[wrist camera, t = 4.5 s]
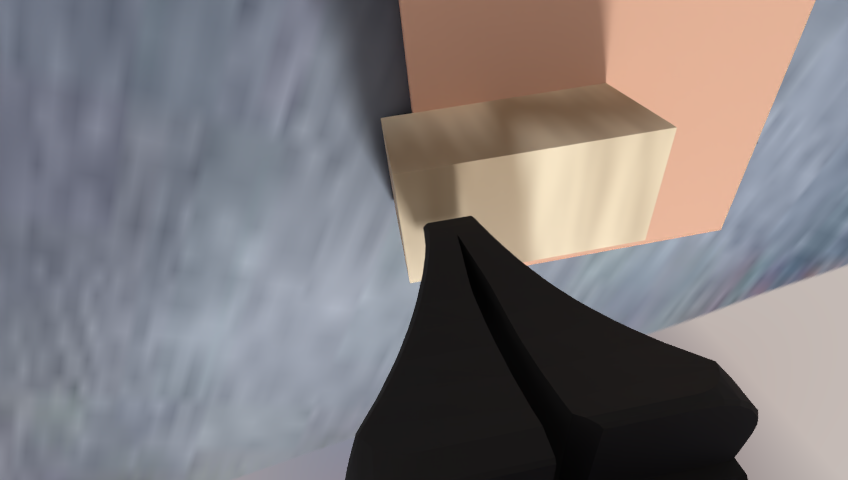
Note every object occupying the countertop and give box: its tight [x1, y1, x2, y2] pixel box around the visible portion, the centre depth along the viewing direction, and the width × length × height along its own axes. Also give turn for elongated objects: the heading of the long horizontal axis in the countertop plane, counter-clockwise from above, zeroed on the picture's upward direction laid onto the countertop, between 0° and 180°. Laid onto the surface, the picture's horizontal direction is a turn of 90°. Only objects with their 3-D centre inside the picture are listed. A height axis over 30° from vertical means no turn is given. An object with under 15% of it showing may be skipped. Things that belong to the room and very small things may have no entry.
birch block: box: [381, 83, 677, 283], centre depth 14 cm, size 4×4×8 cm
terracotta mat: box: [399, 0, 816, 265], centre depth 16 cm, size 14×12×1 cm
